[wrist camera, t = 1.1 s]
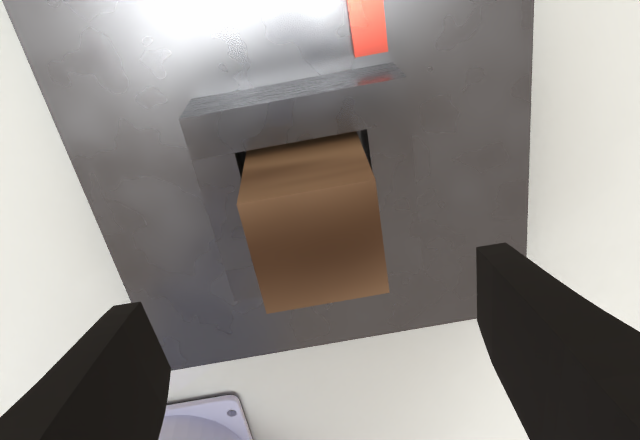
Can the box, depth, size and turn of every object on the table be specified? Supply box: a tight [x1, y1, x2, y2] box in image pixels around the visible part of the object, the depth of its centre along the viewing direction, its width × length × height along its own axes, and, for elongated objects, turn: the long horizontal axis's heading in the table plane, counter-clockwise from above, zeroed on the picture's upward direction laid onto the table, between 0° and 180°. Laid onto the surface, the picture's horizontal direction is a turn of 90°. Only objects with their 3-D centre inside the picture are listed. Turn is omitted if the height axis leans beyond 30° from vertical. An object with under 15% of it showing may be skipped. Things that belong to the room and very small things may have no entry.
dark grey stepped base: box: [2, 0, 534, 370], centre depth 20 cm, size 18×18×4 cm
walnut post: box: [237, 131, 390, 314], centre depth 18 cm, size 4×4×6 cm
